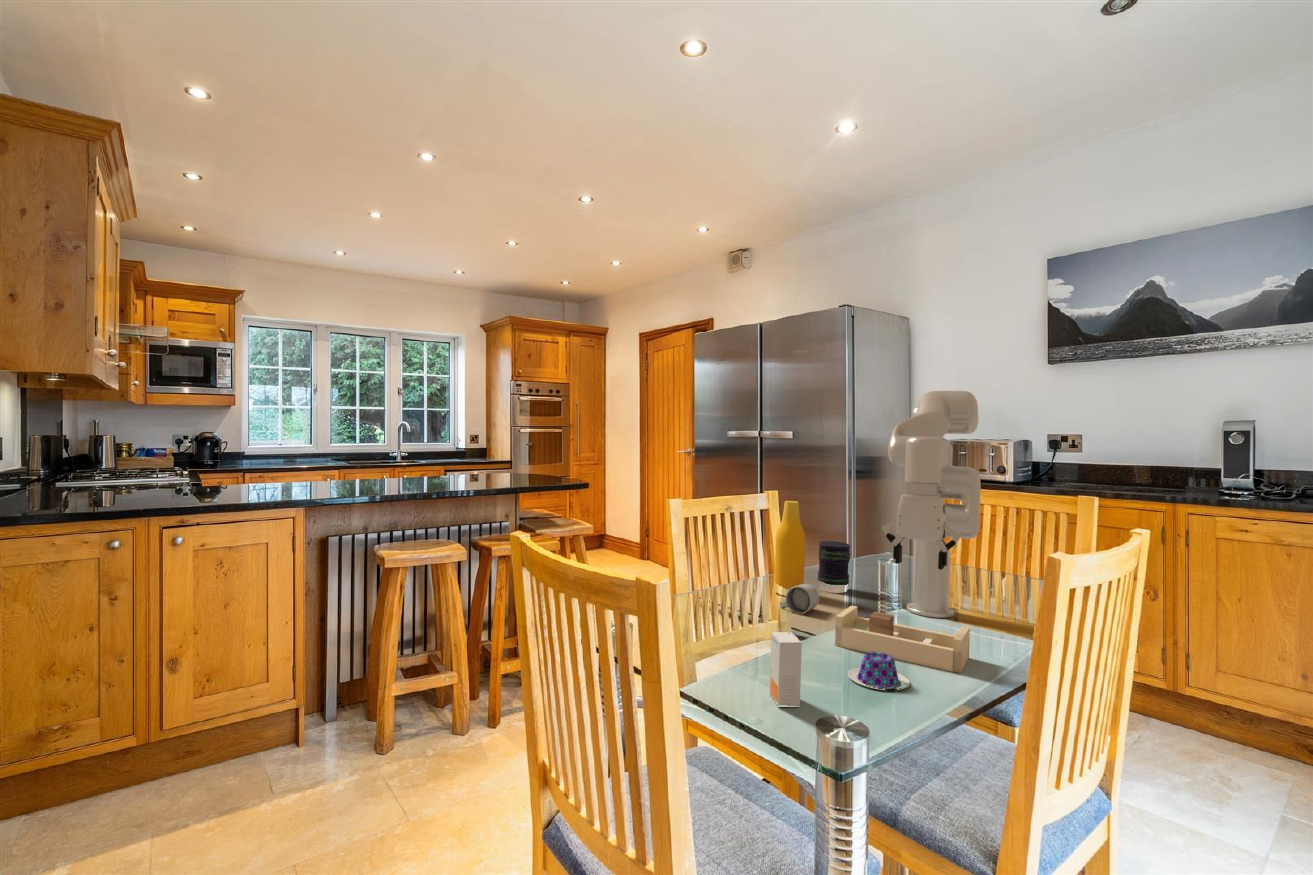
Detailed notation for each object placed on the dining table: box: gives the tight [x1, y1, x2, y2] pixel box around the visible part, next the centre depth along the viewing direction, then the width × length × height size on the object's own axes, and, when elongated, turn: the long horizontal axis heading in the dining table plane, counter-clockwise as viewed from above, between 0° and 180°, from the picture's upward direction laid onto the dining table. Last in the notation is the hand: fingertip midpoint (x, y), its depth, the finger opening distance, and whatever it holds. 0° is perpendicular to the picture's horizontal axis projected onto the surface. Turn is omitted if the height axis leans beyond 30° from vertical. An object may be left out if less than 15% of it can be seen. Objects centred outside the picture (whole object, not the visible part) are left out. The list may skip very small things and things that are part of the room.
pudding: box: [847, 652, 911, 691], centre depth 126 cm, size 12×12×5 cm
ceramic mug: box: [778, 583, 820, 615], centre depth 176 cm, size 11×8×8 cm
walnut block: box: [868, 611, 895, 636], centre depth 146 cm, size 4×4×4 cm
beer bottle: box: [773, 500, 806, 589], centre depth 195 cm, size 9×9×29 cm
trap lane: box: [834, 605, 971, 674], centre depth 144 cm, size 12×27×7 cm, turn 55°
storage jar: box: [817, 540, 851, 585], centre depth 202 cm, size 10×10×15 cm
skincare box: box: [769, 631, 803, 707], centre depth 115 cm, size 6×4×12 cm
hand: (919, 565), depth 142 cm, fingers open, 8 cm apart
